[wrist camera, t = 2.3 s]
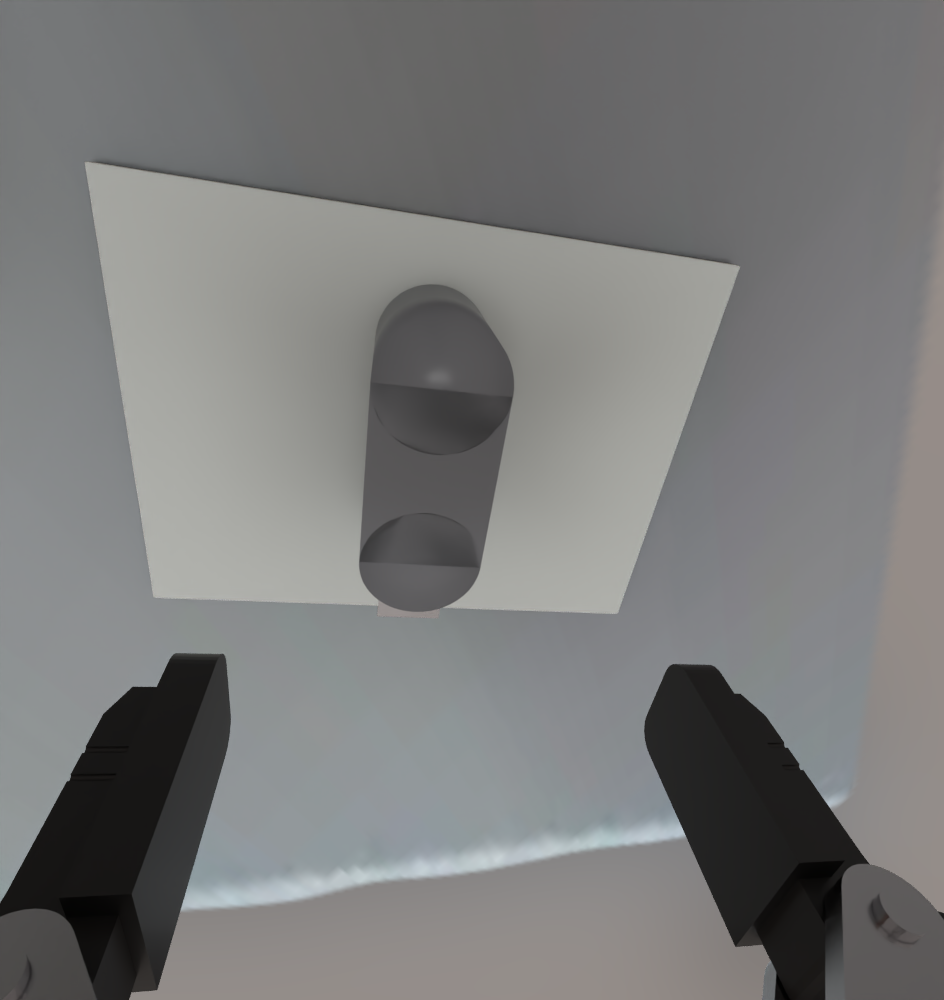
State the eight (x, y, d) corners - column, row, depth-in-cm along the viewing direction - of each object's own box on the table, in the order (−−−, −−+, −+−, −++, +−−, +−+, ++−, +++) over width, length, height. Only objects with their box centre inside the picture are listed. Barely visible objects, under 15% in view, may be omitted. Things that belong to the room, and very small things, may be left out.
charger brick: (379, 276, 19) (374, 306, 14) (496, 292, 19) (526, 325, 15) (360, 568, 24) (353, 653, 20) (451, 573, 25) (463, 655, 21)
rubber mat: (94, 162, 17) (84, 161, 16) (731, 264, 20) (740, 266, 20) (158, 588, 24) (153, 597, 24) (613, 605, 28) (617, 613, 27)
